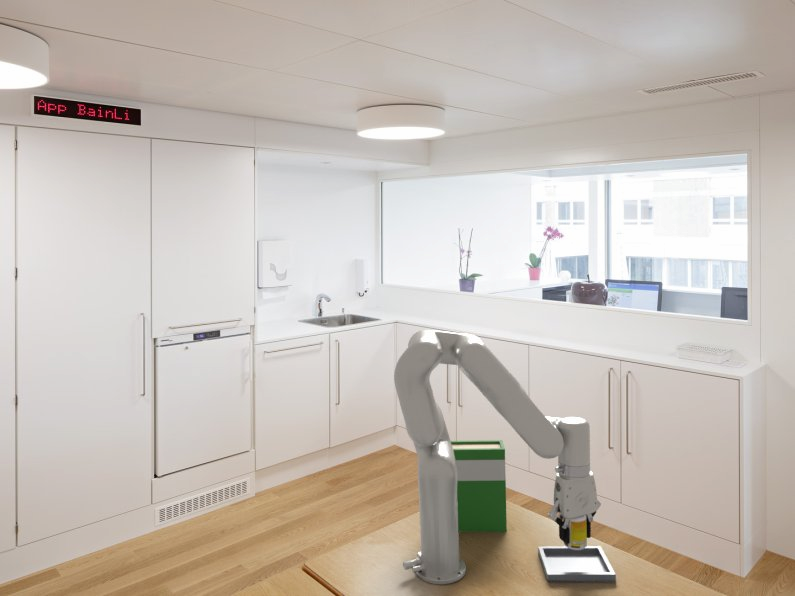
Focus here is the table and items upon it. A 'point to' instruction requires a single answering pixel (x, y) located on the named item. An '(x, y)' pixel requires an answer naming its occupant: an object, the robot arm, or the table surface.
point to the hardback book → (481, 485)
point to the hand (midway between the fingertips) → (575, 537)
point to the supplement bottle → (577, 533)
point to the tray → (576, 564)
